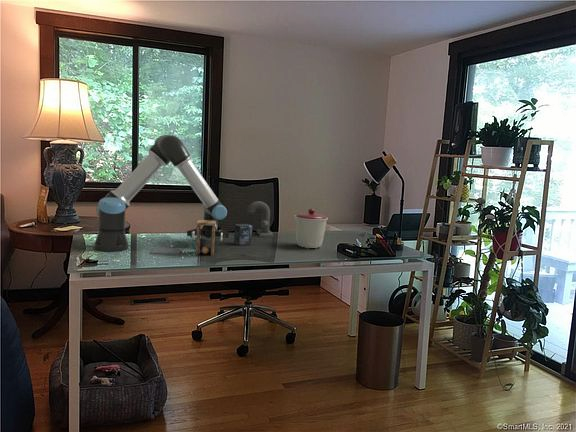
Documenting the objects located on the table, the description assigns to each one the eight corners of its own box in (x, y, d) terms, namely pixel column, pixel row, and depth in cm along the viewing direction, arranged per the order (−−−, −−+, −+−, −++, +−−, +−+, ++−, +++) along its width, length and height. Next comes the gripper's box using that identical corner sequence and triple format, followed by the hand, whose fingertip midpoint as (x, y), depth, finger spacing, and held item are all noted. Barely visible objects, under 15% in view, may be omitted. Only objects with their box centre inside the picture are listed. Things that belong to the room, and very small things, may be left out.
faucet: (244, 231, 306) (246, 198, 303) (269, 232, 309) (271, 200, 306) (247, 236, 288) (249, 202, 286) (274, 237, 291) (276, 203, 288)
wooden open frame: (195, 255, 232) (196, 222, 230) (196, 251, 240) (198, 219, 238) (213, 256, 233) (214, 223, 231) (214, 252, 241) (215, 220, 239)
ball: (201, 254, 235) (201, 247, 234) (201, 252, 238) (201, 245, 238) (208, 254, 235) (208, 247, 235) (208, 253, 238) (209, 245, 238)
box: (238, 245, 261) (239, 225, 259) (233, 243, 265) (234, 224, 264) (251, 244, 265) (252, 225, 263) (246, 242, 270) (247, 223, 268)
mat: (150, 253, 229) (150, 252, 228) (155, 248, 241) (155, 246, 241) (179, 255, 230) (179, 253, 230) (182, 249, 243) (182, 248, 243)
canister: (316, 243, 281) (319, 206, 279) (331, 250, 265) (334, 211, 262) (287, 243, 274) (289, 206, 272) (300, 250, 258) (303, 210, 255)
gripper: (233, 237, 259) (233, 246, 238) (184, 235, 256) (180, 243, 235) (233, 223, 258) (233, 230, 237) (185, 221, 255) (180, 228, 234)
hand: (207, 237), depth 236 cm, fingers open, 13 cm apart
